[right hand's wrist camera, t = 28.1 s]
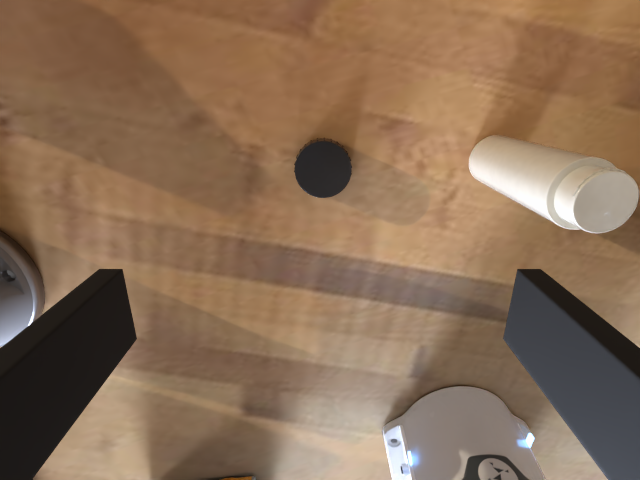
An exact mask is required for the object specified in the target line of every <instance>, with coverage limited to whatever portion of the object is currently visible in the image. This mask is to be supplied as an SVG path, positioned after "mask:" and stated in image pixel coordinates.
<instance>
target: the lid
mask: <svg viewBox="0 0 640 480" xmlns="http://www.w3.org/2000/svg"><path fill="white" fill-rule="evenodd" d="M296 158H297V160H296V161H295V170H294V172H295V176H296V179H297V182H298V184H299V185H300V187H301V188H302V189H303V190H304V191H305V192H307V193H308V194H310V195H312V196H315V197H319V198H327V197H331V196H334V195H336V194H338V193H340V192H341V191H342V190H343V189H344V188H345V187H346V185H347V184H348V182H349V180H350V177H351V168H352V166H351V162H350V161H351V159H350V157H348V153H347V151H345V149H344V147H343V146H341V145H340V144H339V143H338V142H335V141H333V140H332V139H325V138H324V139H318V138H317V139H316V140H313V141H312V140H311V141H310V142H309V143H307V144H305V146H304V147H303V148H302V149H300V152H299V154H298V155H297V157H296Z"/></svg>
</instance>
